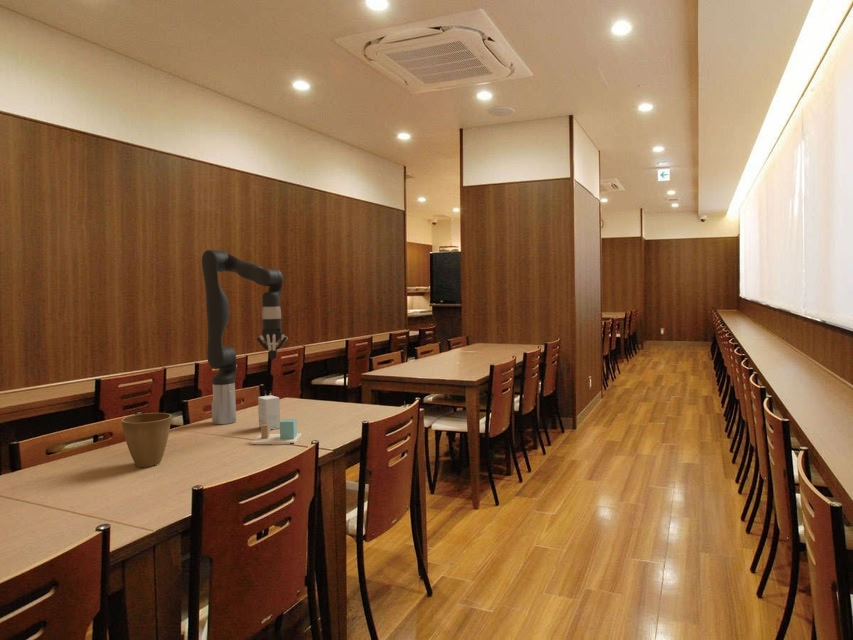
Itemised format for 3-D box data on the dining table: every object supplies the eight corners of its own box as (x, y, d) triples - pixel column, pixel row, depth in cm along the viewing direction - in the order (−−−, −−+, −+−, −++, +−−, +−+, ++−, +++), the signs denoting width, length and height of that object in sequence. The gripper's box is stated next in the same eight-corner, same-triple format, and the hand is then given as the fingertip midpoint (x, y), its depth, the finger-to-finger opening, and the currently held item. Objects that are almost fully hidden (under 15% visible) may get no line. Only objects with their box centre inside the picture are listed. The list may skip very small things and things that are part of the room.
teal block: (280, 439, 214) (279, 422, 214) (283, 435, 220) (283, 419, 219) (293, 439, 214) (293, 421, 214) (297, 435, 220) (296, 418, 219)
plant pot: (118, 473, 180) (116, 424, 179) (129, 460, 195) (127, 414, 194) (169, 468, 184) (167, 420, 183) (176, 456, 199) (174, 411, 198)
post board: (251, 444, 211) (250, 429, 211) (261, 436, 223) (260, 421, 223) (294, 444, 211) (293, 428, 211) (301, 435, 223) (301, 420, 223)
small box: (280, 428, 236) (279, 397, 235) (266, 431, 232) (265, 399, 231) (272, 425, 242) (271, 394, 242) (258, 427, 238) (257, 396, 238)
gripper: (290, 316, 236) (291, 358, 237) (258, 317, 236) (259, 358, 237) (285, 317, 229) (286, 360, 230) (252, 318, 229) (254, 361, 230)
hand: (273, 359), depth 234 cm, fingers closed
